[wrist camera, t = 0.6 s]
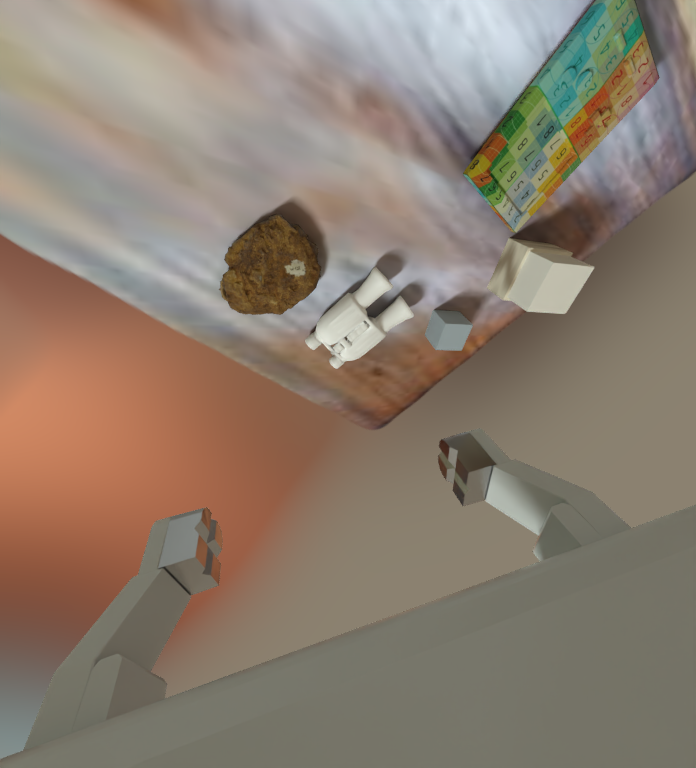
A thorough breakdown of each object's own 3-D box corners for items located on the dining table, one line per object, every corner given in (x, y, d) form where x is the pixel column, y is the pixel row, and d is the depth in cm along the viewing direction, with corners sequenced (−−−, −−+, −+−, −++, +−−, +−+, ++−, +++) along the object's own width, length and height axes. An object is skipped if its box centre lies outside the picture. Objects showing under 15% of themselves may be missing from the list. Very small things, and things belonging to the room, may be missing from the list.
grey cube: (433, 309, 53) (445, 323, 50) (458, 311, 55) (472, 324, 51) (424, 334, 56) (435, 349, 53) (448, 335, 58) (461, 350, 54)
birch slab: (508, 237, 48) (528, 247, 44) (550, 243, 50) (573, 252, 46) (486, 287, 53) (503, 300, 49) (525, 290, 55) (544, 303, 51)
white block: (529, 251, 45) (553, 262, 41) (568, 255, 46) (594, 267, 42) (507, 297, 49) (526, 311, 45) (543, 299, 50) (565, 313, 47)
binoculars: (409, 306, 52) (419, 319, 49) (339, 363, 57) (344, 379, 54) (373, 261, 46) (382, 272, 43) (298, 329, 51) (300, 344, 48)
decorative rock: (262, 326, 50) (332, 262, 46) (264, 340, 47) (338, 272, 43) (198, 276, 43) (275, 195, 39) (195, 288, 40) (277, 202, 36)
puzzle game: (667, 76, 35) (519, 235, 43) (630, 80, 38) (500, 226, 47) (634, -33, 29) (470, 175, 37) (594, -16, 32) (453, 171, 41)
